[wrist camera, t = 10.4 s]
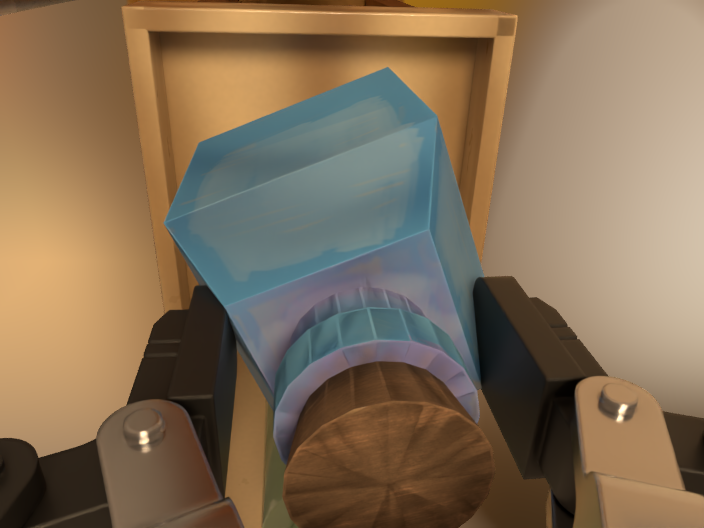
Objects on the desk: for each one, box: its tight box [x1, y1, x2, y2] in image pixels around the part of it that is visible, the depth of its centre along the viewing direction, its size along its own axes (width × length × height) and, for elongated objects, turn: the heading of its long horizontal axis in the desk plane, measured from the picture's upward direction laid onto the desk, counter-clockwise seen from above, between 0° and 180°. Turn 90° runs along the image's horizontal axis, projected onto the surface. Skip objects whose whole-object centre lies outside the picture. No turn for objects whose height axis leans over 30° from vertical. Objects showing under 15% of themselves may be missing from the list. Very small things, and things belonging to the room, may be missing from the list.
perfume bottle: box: [164, 67, 495, 528], centre depth 14 cm, size 6×6×12 cm
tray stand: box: [121, 0, 518, 528], centre depth 39 cm, size 14×34×25 cm, turn 178°
